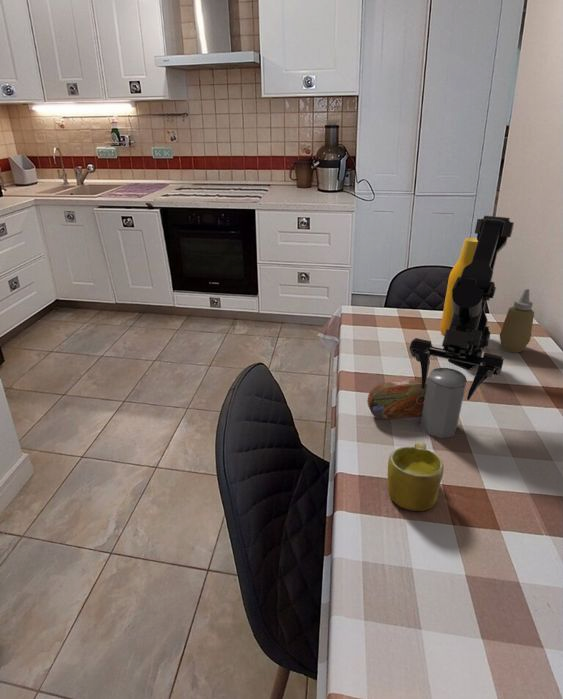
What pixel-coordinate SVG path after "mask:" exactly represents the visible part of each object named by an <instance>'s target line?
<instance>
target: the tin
mask: <svg viewBox="0 0 563 699" xmlns="http://www.w3.org/2000/svg"><path fill="white" fill-rule="evenodd" d="M426 388H427V383H426V386H425V388H424V389H422V380H421V379H420V380H419V379H411V380H398V381H391V382H390V381H389V382H383V383H379V384H378V385H375V386H374V387H373V388H372V389H371V390H370V392H369V394H368V396H367V399H366V400H367V401H366V402H367V406H368V408H369V410H370V413H371V414H372V415H373V417H375V418H377V419H378V420H382V421H383V420H395V419H402V418H412V417H419V416H422V412H423V406H424V400H425V394H426Z"/></svg>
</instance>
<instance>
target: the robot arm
mask: <svg viewBox="0 0 563 699" xmlns="http://www.w3.org/2000/svg"><path fill="white" fill-rule="evenodd" d="M510 220H511V218H510V217H504V216H493V215H483V218H477V220H476V223H475V224H476V225H475V229H474V234H477V235H476V239H477V240H478V243H477V246H476V250H475V253H474V256H473V259H472V262H471V263H470V264H469V265H467V266H466V267H464V269H463V272H462V275H461V277H458V278H457V280H456V282H455V284H454V287H453V289H452V304H453V315H452V319H451V322H450V326H449V329H446V332H445V336H444V335H443V341H442V343H441V344H442V345H441V346H442V348H440V347H436V346H433V345H432V341H431V340H427V339H422V338H416V337H415V338H413V339H412V340H411V342H410V346H409V352H410V355H411V356H412V357H413V358H415V360H416V362H418V363H419V364H420V369H421V371H420V372H421V381H422V389H424V388H425V386H426V384H427V382H428V377H429V376H428V375H429V370H430V365H431V361H430V358H431V356H433V357H437V358H441V359H446V360H447V362H450V363H452V364H454V365H457V366H459V367H461V368H463V369H465V370H471V369H474V367H476V366H478V368H477V371H476V373H475V375H474V378H473V381H472V383H471V385H470V387H469V391H468V394H467V397H466V400H467V401H470V399H471V398H472V396H474V394H475V392H476V391H477V390H478V388H479V387H480V386H481V385H482V384H483V383H484V382H485V381H486V380H487V378H489V379H492V378H493V377H494V376H498V377H499V376H501V373H502V368H503V364H504V361H505V359H504V357H503V356H502V355H497V354H494V353H489V352H484V353H483V349H485V348H487V347H488V345H489V341H490V338H491V331H490V327H489V326H488V318H487V315H486V312H485V306H486V303H487V301H490V300H491V299H493V298H494V296H495V294H496V289H497V288H496V287H497V286H496V283H495V281H493V276H494V268H495V264H496V260H497V258H498V256H497V255H498V253H499V252H500V251H501V250H502V249H504V247H505V246H506V245H507V242H508V239H509V238H511V237H512V235H513V234H512V233H513V229H514V225H515V223H514V222H512V221H510ZM482 356H483V357H482Z"/></svg>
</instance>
